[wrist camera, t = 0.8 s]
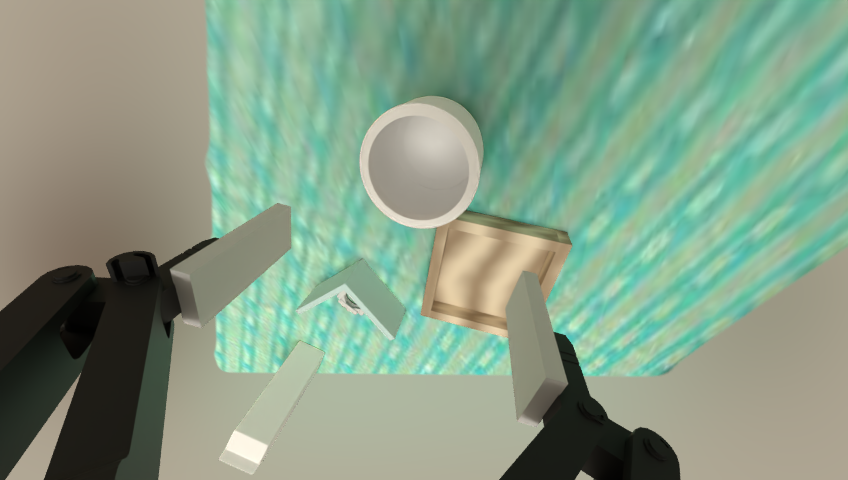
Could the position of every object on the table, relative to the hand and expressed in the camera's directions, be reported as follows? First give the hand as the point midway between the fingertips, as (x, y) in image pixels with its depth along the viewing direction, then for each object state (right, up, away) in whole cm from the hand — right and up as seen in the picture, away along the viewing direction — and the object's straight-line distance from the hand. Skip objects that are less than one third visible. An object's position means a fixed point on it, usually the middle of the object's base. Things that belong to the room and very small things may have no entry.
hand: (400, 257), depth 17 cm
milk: (-24, -24, +49) cm, 59 cm away
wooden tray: (+11, -4, +29) cm, 31 cm away
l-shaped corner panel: (-10, -9, +38) cm, 40 cm away
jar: (+4, +14, +21) cm, 26 cm away
